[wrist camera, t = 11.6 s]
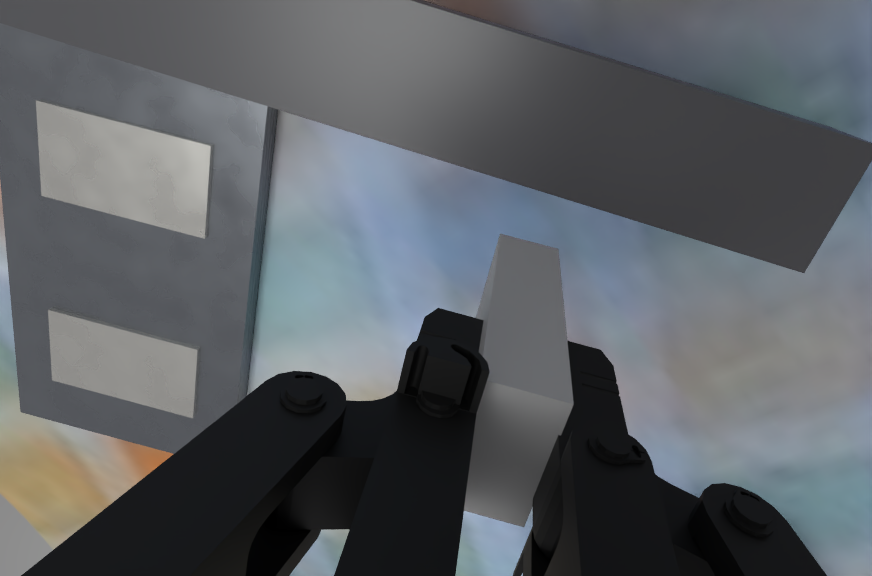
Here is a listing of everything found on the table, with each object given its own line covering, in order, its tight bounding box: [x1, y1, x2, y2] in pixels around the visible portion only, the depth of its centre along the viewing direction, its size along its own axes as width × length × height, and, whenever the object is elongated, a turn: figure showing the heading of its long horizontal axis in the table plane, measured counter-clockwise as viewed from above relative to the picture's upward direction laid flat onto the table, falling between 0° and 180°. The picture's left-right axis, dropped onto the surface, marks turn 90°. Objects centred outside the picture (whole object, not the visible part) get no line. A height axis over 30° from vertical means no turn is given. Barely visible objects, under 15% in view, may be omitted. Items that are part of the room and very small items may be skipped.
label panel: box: [0, 23, 278, 454], centre depth 31 cm, size 14×30×8 cm, turn 167°
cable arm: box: [0, 0, 872, 273], centre depth 19 cm, size 4×30×3 cm, turn 74°
